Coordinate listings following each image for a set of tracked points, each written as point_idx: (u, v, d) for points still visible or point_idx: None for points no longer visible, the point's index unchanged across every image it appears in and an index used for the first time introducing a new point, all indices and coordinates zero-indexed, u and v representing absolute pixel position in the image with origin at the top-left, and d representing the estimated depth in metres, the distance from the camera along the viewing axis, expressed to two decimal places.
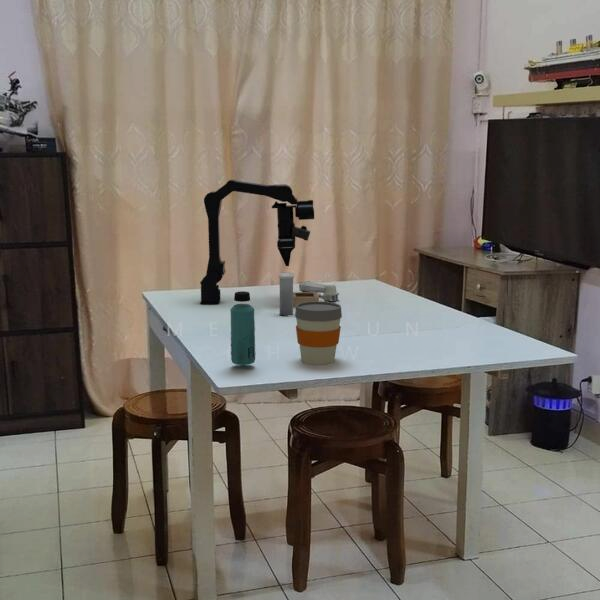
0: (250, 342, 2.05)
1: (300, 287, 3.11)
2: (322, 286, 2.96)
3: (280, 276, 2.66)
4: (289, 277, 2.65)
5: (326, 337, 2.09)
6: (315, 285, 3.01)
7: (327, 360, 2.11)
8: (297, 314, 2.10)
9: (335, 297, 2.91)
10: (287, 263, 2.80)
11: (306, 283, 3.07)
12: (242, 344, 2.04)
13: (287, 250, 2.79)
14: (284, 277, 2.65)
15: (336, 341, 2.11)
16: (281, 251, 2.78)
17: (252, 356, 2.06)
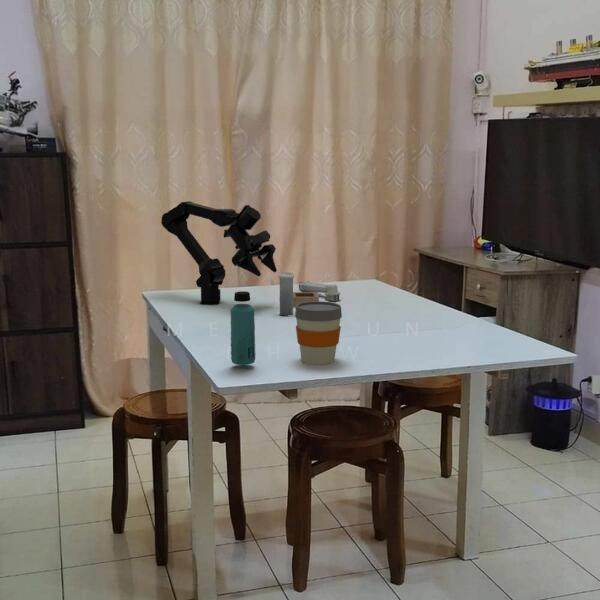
0: (250, 342, 2.05)
1: (300, 287, 3.10)
2: (323, 286, 2.97)
3: (280, 276, 2.66)
4: (289, 277, 2.65)
5: (326, 337, 2.09)
6: (315, 285, 3.01)
7: (327, 360, 2.11)
8: (297, 314, 2.10)
9: (337, 297, 2.91)
10: (257, 273, 2.68)
11: (306, 283, 3.07)
12: (242, 344, 2.04)
13: (248, 262, 2.68)
14: (284, 277, 2.65)
15: (336, 341, 2.11)
16: (244, 266, 2.69)
17: (252, 356, 2.06)
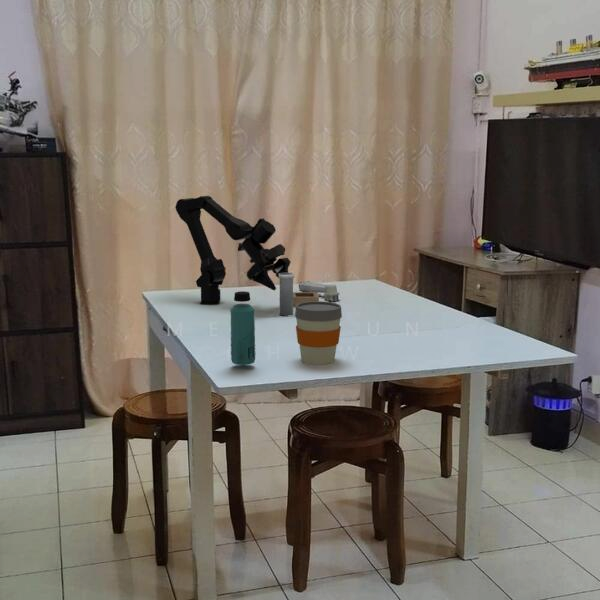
0: (250, 342, 2.05)
1: (300, 287, 3.11)
2: (322, 286, 2.96)
3: (280, 276, 2.66)
4: (289, 277, 2.65)
5: (326, 337, 2.09)
6: (315, 285, 3.01)
7: (327, 360, 2.11)
8: (297, 314, 2.10)
9: (336, 297, 2.91)
10: (272, 287, 2.65)
11: (306, 283, 3.07)
12: (242, 344, 2.04)
13: (263, 276, 2.65)
14: (284, 277, 2.65)
15: (336, 341, 2.11)
16: (259, 281, 2.66)
17: (252, 356, 2.06)
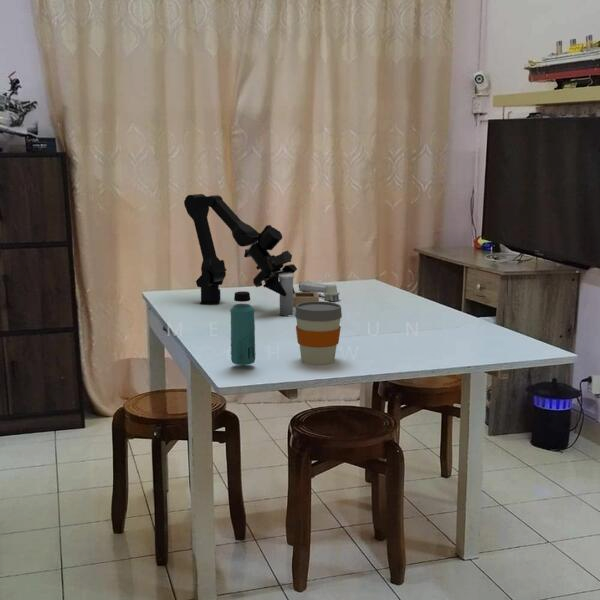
0: (250, 342, 2.05)
1: (300, 287, 3.11)
2: (322, 286, 2.97)
3: (280, 276, 2.66)
4: (289, 277, 2.65)
5: (326, 337, 2.09)
6: (315, 285, 3.01)
7: (327, 360, 2.11)
8: (297, 314, 2.10)
9: (336, 297, 2.91)
10: (283, 293, 2.66)
11: (306, 283, 3.07)
12: (242, 344, 2.04)
13: (274, 282, 2.66)
14: (284, 277, 2.65)
15: (336, 341, 2.11)
16: (269, 287, 2.67)
17: (252, 356, 2.06)
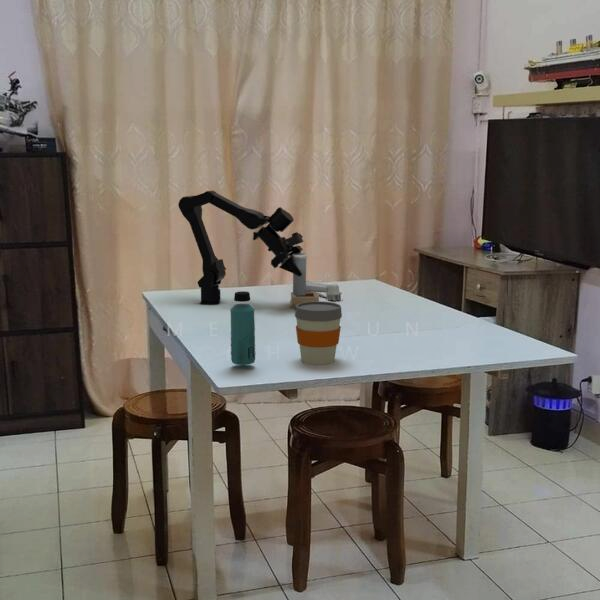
0: (250, 342, 2.05)
1: None
2: (324, 286, 2.97)
3: (295, 257, 2.72)
4: (304, 257, 2.72)
5: (326, 337, 2.09)
6: (316, 285, 3.01)
7: (327, 360, 2.11)
8: (297, 314, 2.10)
9: (338, 296, 2.92)
10: (298, 273, 2.72)
11: (306, 283, 3.07)
12: (242, 344, 2.04)
13: (289, 263, 2.72)
14: (300, 257, 2.72)
15: (336, 341, 2.11)
16: (285, 267, 2.72)
17: (252, 356, 2.06)
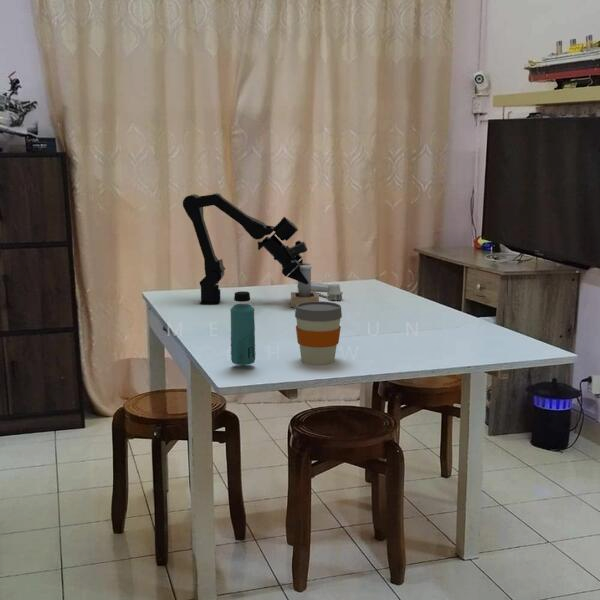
0: (250, 342, 2.05)
1: None
2: (325, 285, 2.97)
3: (302, 267, 2.81)
4: (310, 267, 2.82)
5: (326, 337, 2.09)
6: (316, 285, 3.01)
7: (327, 360, 2.11)
8: (297, 314, 2.10)
9: (339, 296, 2.92)
10: (305, 281, 2.79)
11: None
12: (242, 344, 2.04)
13: (296, 272, 2.78)
14: (306, 267, 2.81)
15: (336, 341, 2.11)
16: (292, 276, 2.78)
17: (252, 356, 2.06)
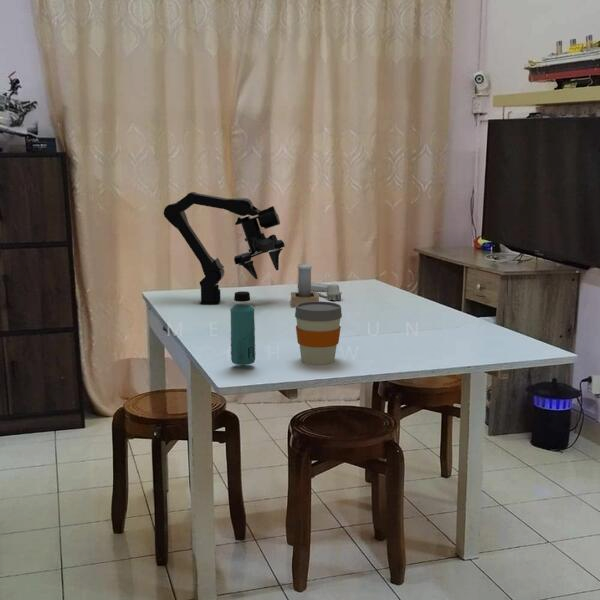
0: (250, 342, 2.05)
1: None
2: (324, 286, 2.97)
3: (302, 267, 2.81)
4: (310, 267, 2.82)
5: (326, 337, 2.09)
6: (316, 285, 3.02)
7: (327, 360, 2.11)
8: (297, 314, 2.10)
9: (338, 296, 2.92)
10: (254, 276, 2.82)
11: None
12: (242, 344, 2.04)
13: (249, 264, 2.80)
14: (306, 267, 2.81)
15: (336, 341, 2.11)
16: (244, 266, 2.82)
17: (252, 356, 2.06)
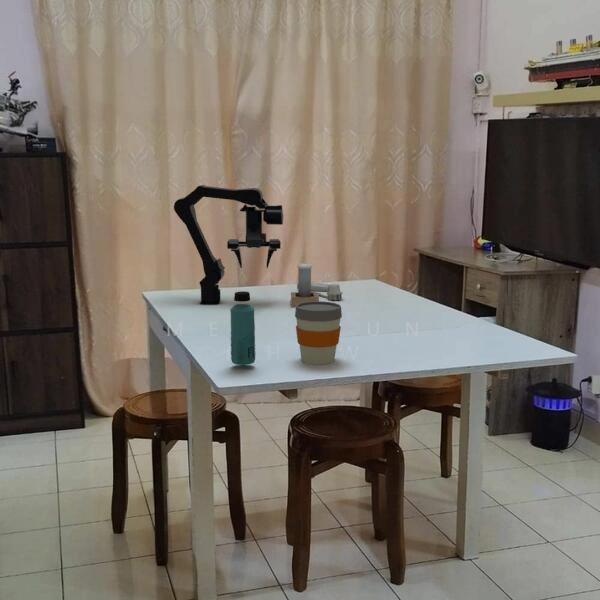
0: (250, 342, 2.05)
1: None
2: (324, 285, 2.97)
3: (302, 267, 2.81)
4: (310, 267, 2.82)
5: (326, 337, 2.09)
6: (316, 285, 3.02)
7: (327, 360, 2.11)
8: (297, 314, 2.10)
9: (339, 296, 2.93)
10: None
11: None
12: (242, 344, 2.04)
13: None
14: (306, 267, 2.81)
15: (336, 341, 2.11)
16: None
17: (252, 356, 2.06)
